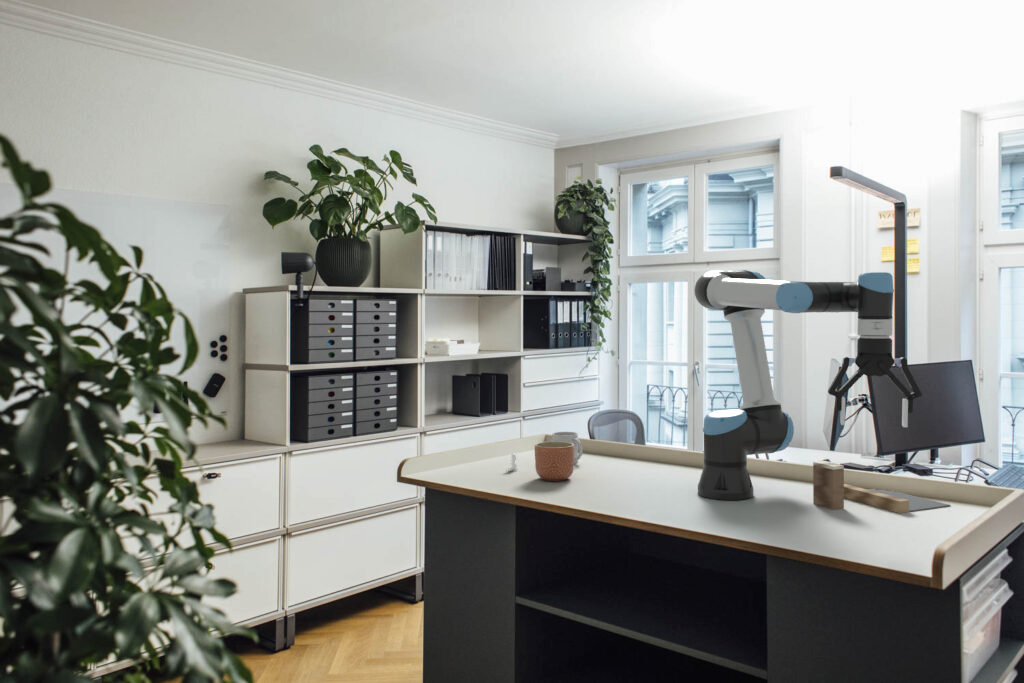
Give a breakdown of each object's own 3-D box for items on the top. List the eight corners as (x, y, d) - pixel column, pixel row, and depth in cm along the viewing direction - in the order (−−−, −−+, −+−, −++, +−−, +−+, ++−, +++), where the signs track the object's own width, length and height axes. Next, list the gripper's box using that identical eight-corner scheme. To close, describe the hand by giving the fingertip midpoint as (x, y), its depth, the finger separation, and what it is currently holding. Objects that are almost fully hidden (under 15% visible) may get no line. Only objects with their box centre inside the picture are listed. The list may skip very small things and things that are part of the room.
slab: (813, 503, 201) (813, 461, 201) (823, 502, 203) (823, 460, 202) (833, 509, 195) (833, 466, 194) (843, 508, 196) (843, 465, 196)
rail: (833, 494, 211) (833, 484, 211) (842, 493, 212) (842, 483, 212) (899, 513, 190) (899, 501, 190) (908, 512, 191) (908, 500, 191)
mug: (550, 460, 269) (550, 432, 269) (577, 459, 270) (576, 431, 270) (555, 466, 258) (555, 436, 258) (583, 465, 259) (582, 435, 259)
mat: (843, 493, 212) (843, 492, 212) (881, 488, 217) (881, 487, 217) (910, 511, 192) (910, 510, 192) (950, 506, 197) (950, 504, 197)
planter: (569, 484, 229) (568, 448, 229) (529, 482, 233) (529, 446, 233) (578, 476, 241) (578, 441, 241) (541, 474, 245) (540, 440, 245)
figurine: (508, 475, 246) (507, 456, 246) (497, 471, 253) (496, 453, 253) (529, 472, 250) (529, 454, 250) (517, 468, 257) (517, 450, 257)
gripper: (819, 337, 181) (818, 425, 182) (936, 338, 174) (935, 430, 175) (817, 336, 188) (816, 421, 190) (929, 336, 181) (927, 425, 182)
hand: (873, 425), depth 182 cm, fingers open, 13 cm apart
